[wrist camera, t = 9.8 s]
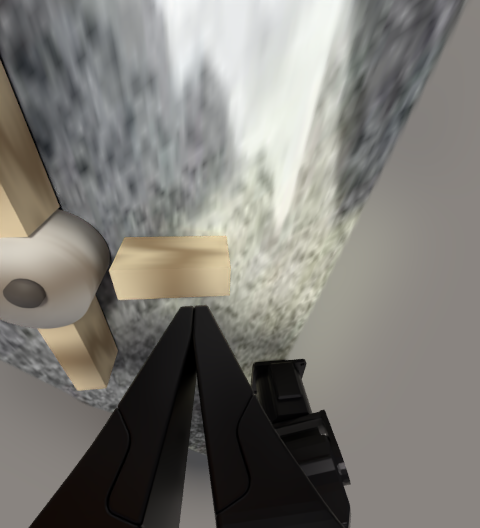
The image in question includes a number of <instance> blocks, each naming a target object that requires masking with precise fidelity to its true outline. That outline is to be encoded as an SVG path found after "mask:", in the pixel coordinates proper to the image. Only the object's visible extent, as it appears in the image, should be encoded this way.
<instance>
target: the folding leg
mask: <svg viewBox="0 0 480 528" xmlns="http://www.w3.org/2000/svg"><path fill="white" fill-rule="evenodd" d="M230 271H231V266H230V259H229V252H228V244H227V237H226V236H184V237H125V238H124V240H123V242H122V244H121V246H120V248H119V250H118V252H117V255H116V257H115V259H114V261H113V263H112V265H111V267H110V269H109V272H110V275H111V279H112V282H113V285H114V288H115V291H116V295H117V298H118V300H131V299H155V298H180V297H204V296H229V295H230Z"/></svg>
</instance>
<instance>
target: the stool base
mask: <svg viewBox="0 0 480 528" xmlns="http://www.w3.org/2000/svg"><path fill="white" fill-rule="evenodd" d="M59 207H60V206H59V204H58V201H57V199H56V196H55V194H54V191H53V189H52V186H51V184H50V181H49V179H48V176H47V174H46V171H45V169H44V167H43V164H42V162H41V159H40V157H39V154H38V152H37V149H36V147H35V144H34V142H33V139H32V137H31V134H30V132H29V129H28V127H27V124H26V122H25V120H24V117H23V115H22V112H21V110H20V107H19V105H18V102H17V100H16V97H15V95H14V92H13V90H12V87H11V85H10V82H9V80H8V77H7V75H6V73H5V70H4V68H3V65H2V63H1V60H0V319H1V320H3V321H6V322H8V323H11V324H15V325H19V326H23V327H29V328H37V329H38V330H39V332H40V333H41V335H42V337H43V338H44V340H45V341H46V343H47V344H48V346H49V347H50V349H51V350H52V352H53V353H54V355H55V357H56V358H57V360H58V361H59V363H60V364H61V366H62V367H63V369H64V370H65V372H66V373H67V375H68V377H69V378H70V380H71V381H72V383H73V384H74V386H75V387H76V389H77V390H78V391H79V390H90V389H102V388H107V385H108V382H109V378H110V375H111V372H112V369H113V365H114V362H115V359H116V356H117V352H118V350H117V347H116V345H115V342H114V340H113V337H112V335H111V332H110V330H109V327H108V325H107V322H106V320H105V317H104V315H103V313H102V310H101V308H100V305H99V303H98V300H97V298H96V295H95V294H96V292H97V289H98V287H99V285H100V283H101V281H102V279H103V277H104V275H105V273H106V271H107V269H108V266H109V262H110V254H109V249H108V247H107V244H106V242H105V241H104V239H103V238H102V236H101V235H100V234H99V233H98V231H97V230H96V229H95V228H93V227H92V226H91V225H90V224H89V223H87V222H86V221H84V220H83V219H81V218H79V217H78V216H75V215H73V214H71V213H69V212H66V211H63V210H59V209H58V208H59Z"/></svg>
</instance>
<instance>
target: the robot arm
mask: <svg viewBox="0 0 480 528" xmlns="http://www.w3.org/2000/svg"><path fill="white" fill-rule="evenodd" d="M305 367H306V361H305V359H296V360H284V361H272V362H260V363H255V364H254V365H253V372H252V382H251V386H250V384H249V382H248V380H247V378H246V377H245V375H244V373H243V371H242V369H241V367H240V365H239V363H238V362H237V360H236V358H235V356H234V354H233V352H232V350H231V348H230V347H229V345H228V343H227V341H226V339H225V337H224V335H223V333H222V331H221V330H220V328H219V326H218V324H217V322H216V320H215V318H214V316H213V315H212V313H211V311H210V309H209V307H208V306H207V305H201V306H195V308H194V307H193V306H185V307H181V308H180V309H179V310H178V312H177V314H176V315H175V317H174V318H173V320H172V321H171V323H170V325H169V326H168V328H167V329H166V331H165V332H164V334H163V335H162V337H161V339H160V340H159V342H158V343H157V345H156V346H155V348H154V350H153V351H152V353H151V354H150V356H149V357H148V359H147V360H146V362H145V364H144V365H143V367H142V368H141V370H140V371H139V373H138V374H137V376H136V378H135V379H134V381H133V382H132V384H131V385H130V387H129V389H128V390H127V392H126V393H125V395H124V396H123V398H122V399H121V401H120V403H119V404H118V408H116V409H115V410H114V412H113V413H112V415H111V416H110V418H109V420H108V421H107V423H106V424H105V426H104V427H103V429H102V430H101V432H100V433H99V435H98V436H97V438H96V439H95V441H94V442H93V444H92V445H91V446H90V448H89V449H88V450H87V452H86V453H85V455H84V456H83V457H82V459H81V460H80V461H79V463H78V464H77V465H76V467H75V468H74V469H73V471H72V472H71V473H70V475H69V476H68V477H67V479H66V480H65V481H64V482H63V484H62V485H61V487H60V488H59V489H58V490H57V492H56V493H55V494H54V495H53V497H52V498H51V499H50V501H49V502H48V503H47V505H46V506H45V507H44V508H43V510H42V511H41V512H40V514H39V515H38V516H37V518H36V519H35V520H34V521H33V523H32V524H31V525H30V527H29V528H179V522H180V514H181V505H182V497H183V488H184V480H185V471H186V462H187V454H188V445H189V437H190V428H191V419H192V411H193V402H194V394H195V385H196V373H197V380H198V388H199V396H200V404H201V412H202V419H203V427H204V435H205V443H206V450H207V458H208V466H209V474H210V481H211V489H212V497H213V505H214V511H215V512H214V513H215V520H216V528H350V520H351V512H350V504H349V501H348V498H347V495H346V492H345V489H344V485H350V480H349V476H348V473H347V470H346V467H345V464H344V461H343V458H342V455H341V452H340V449H339V447H338V444H337V441H336V439H335V436H334V433H333V431H332V428H331V426H330V423H329V420H328V418H327V415H326V412H325V410H321V411H320V412H317V413H313V414H312V411H311V408H310V405H309V402H308V398H307V395H306V392H305V389H304V386H303V383H302V376H303V373H304V370H305ZM254 394H258V399H257V397H256V395H254ZM258 400H259V401H258ZM325 433H326V435H324V434H325ZM321 434H323V435H321Z"/></svg>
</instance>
